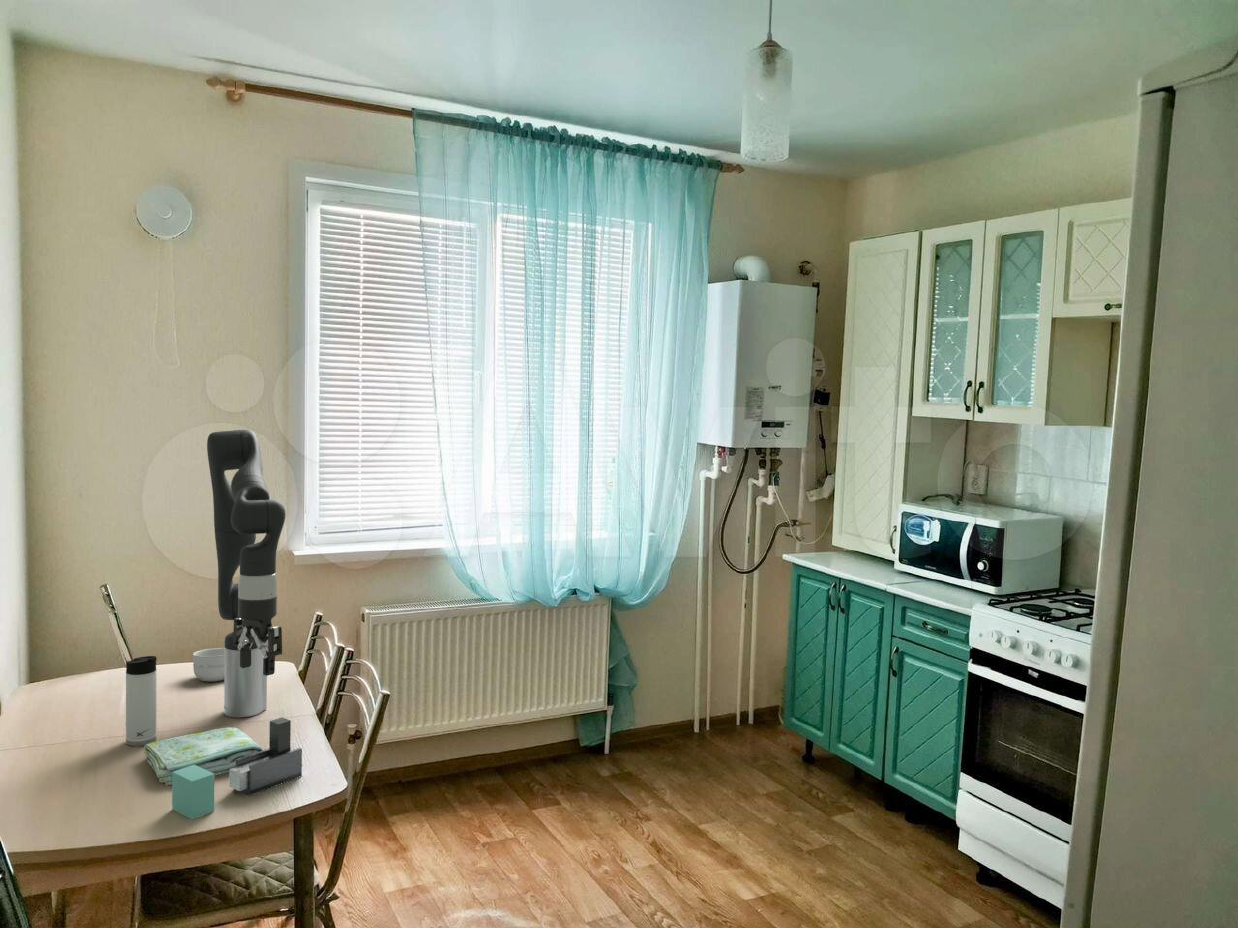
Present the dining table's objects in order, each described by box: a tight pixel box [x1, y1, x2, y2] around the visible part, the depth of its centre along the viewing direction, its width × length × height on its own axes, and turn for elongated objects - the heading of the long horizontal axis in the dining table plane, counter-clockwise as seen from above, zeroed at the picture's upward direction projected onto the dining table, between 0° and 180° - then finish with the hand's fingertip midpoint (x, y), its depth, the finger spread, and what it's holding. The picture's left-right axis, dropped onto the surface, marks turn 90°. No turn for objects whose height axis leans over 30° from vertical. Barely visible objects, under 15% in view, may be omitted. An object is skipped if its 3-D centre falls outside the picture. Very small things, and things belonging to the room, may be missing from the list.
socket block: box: [171, 765, 215, 820], centre depth 174 cm, size 4×7×8 cm, turn 56°
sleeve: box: [236, 747, 303, 796], centre depth 188 cm, size 12×5×6 cm, turn 146°
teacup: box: [192, 647, 225, 682], centre depth 254 cm, size 14×11×8 cm
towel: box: [143, 727, 264, 786], centre depth 198 cm, size 18×21×5 cm
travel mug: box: [125, 655, 157, 747], centre depth 207 cm, size 6×7×20 cm
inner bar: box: [228, 717, 292, 792], centre depth 187 cm, size 14×4×11 cm, turn 146°
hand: (256, 670), depth 189 cm, fingers open, 8 cm apart
